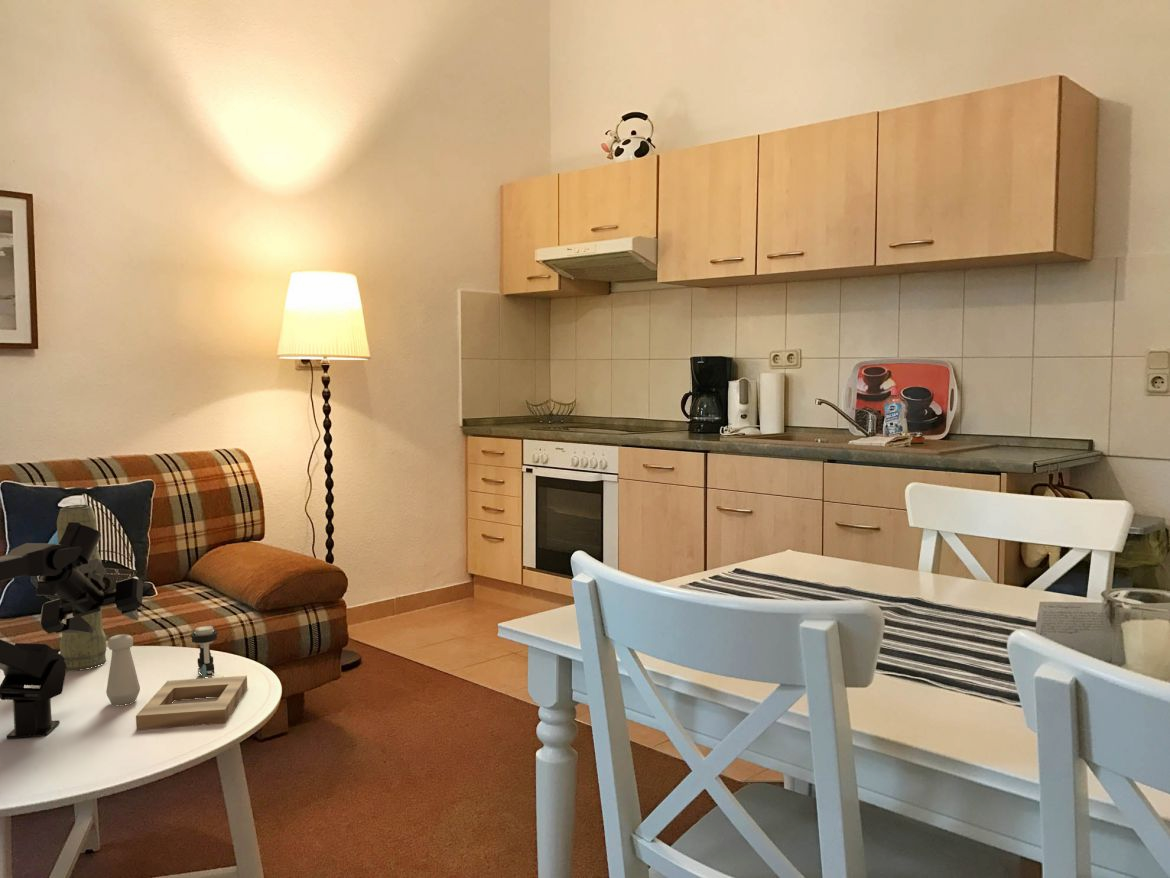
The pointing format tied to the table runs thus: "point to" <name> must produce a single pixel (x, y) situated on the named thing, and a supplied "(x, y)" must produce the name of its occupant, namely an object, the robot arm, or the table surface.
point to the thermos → (83, 646)
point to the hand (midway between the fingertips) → (115, 624)
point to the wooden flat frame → (188, 714)
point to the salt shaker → (122, 672)
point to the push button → (205, 649)
